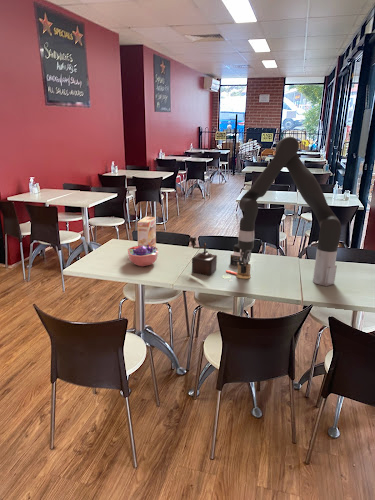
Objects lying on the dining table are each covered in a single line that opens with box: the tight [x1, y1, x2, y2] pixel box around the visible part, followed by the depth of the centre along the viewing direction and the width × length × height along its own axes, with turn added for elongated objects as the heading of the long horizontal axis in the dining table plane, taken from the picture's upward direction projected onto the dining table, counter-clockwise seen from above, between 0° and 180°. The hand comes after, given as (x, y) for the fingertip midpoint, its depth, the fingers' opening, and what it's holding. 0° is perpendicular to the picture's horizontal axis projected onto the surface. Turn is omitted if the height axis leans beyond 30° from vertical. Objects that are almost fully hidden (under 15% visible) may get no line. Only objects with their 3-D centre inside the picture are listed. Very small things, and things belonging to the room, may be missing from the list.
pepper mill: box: [188, 236, 218, 277], centre depth 193 cm, size 16×11×18 cm
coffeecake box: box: [137, 216, 157, 248], centre depth 228 cm, size 15×7×20 cm, turn 167°
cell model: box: [127, 245, 159, 267], centre depth 205 cm, size 17×20×11 cm
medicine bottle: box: [229, 243, 241, 267], centre depth 205 cm, size 7×7×12 cm
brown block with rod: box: [225, 263, 252, 280], centre depth 188 cm, size 14×7×7 cm, turn 53°
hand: (243, 271), depth 187 cm, fingers closed on brown block with rod, 2 cm apart
